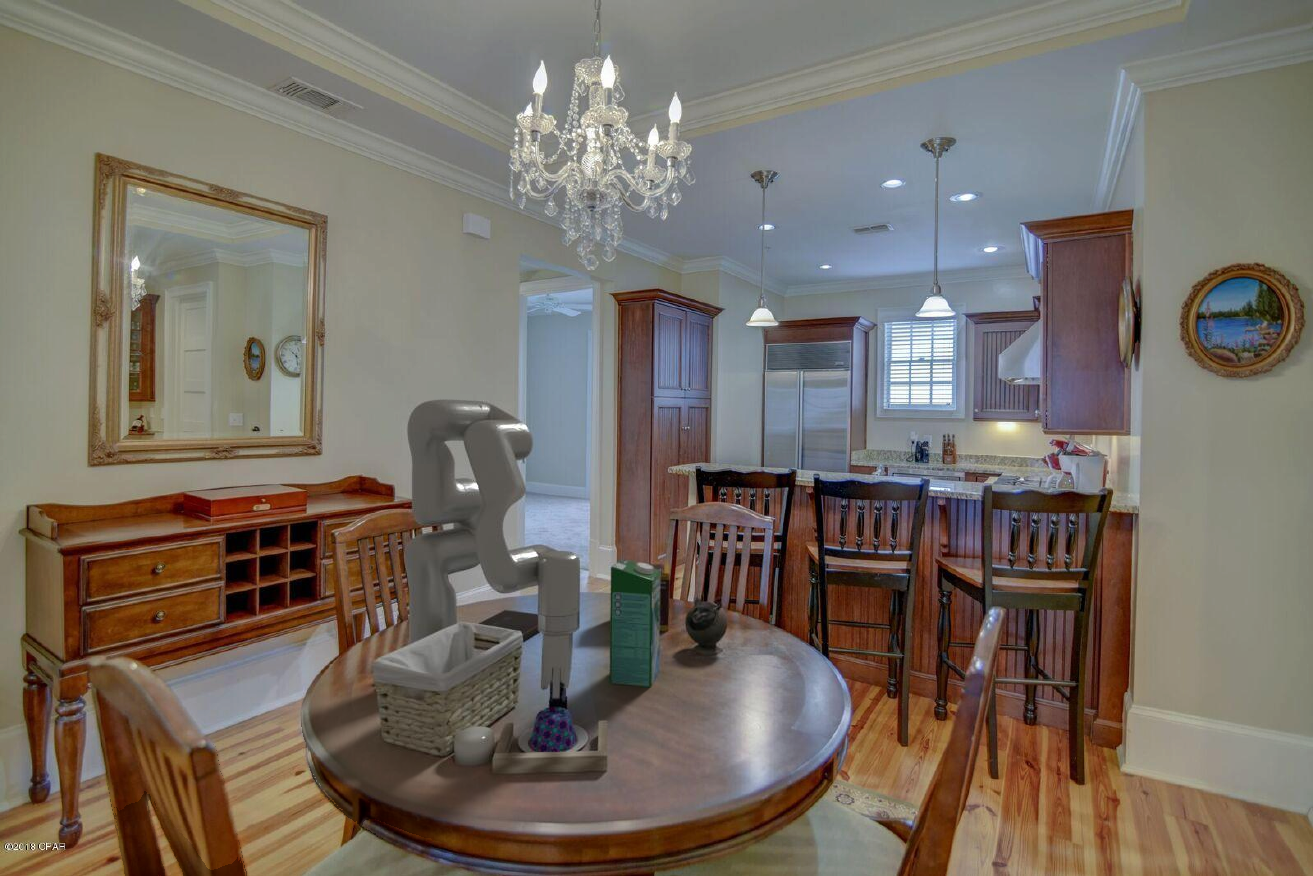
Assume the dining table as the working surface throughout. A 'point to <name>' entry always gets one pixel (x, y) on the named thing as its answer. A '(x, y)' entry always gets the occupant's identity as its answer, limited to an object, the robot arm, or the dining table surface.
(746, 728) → the dining table surface
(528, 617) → the hardcover book
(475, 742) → the egg
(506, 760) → the display stand
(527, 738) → the pudding
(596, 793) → the dining table surface
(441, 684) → the storage basket
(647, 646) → the milk carton
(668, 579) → the supplement box
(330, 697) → the dining table surface
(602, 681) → the dining table surface
